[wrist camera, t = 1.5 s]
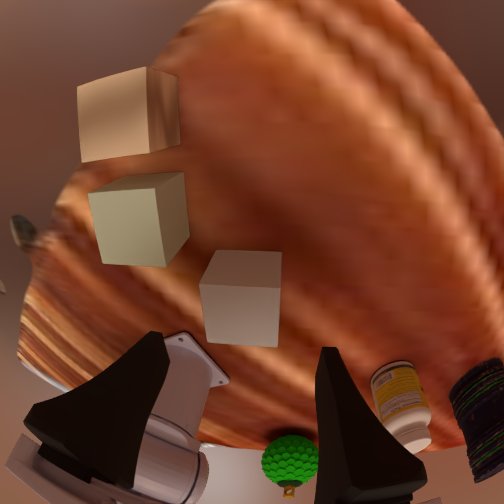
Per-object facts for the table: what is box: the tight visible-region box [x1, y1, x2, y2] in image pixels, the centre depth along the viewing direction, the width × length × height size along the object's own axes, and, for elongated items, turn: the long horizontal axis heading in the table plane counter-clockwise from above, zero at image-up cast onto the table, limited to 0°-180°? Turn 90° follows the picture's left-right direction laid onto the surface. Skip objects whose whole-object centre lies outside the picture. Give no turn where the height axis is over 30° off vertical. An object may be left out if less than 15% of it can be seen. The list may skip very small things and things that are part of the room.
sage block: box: [88, 172, 190, 267], centre depth 18 cm, size 5×5×5 cm
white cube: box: [199, 250, 282, 347], centre depth 20 cm, size 5×5×5 cm
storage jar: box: [449, 358, 504, 483], centre depth 20 cm, size 10×10×15 cm
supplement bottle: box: [371, 361, 431, 454], centre depth 22 cm, size 5×5×10 cm
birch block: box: [77, 67, 181, 163], centre depth 15 cm, size 5×5×5 cm
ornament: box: [261, 435, 319, 498], centre depth 29 cm, size 8×8×10 cm
